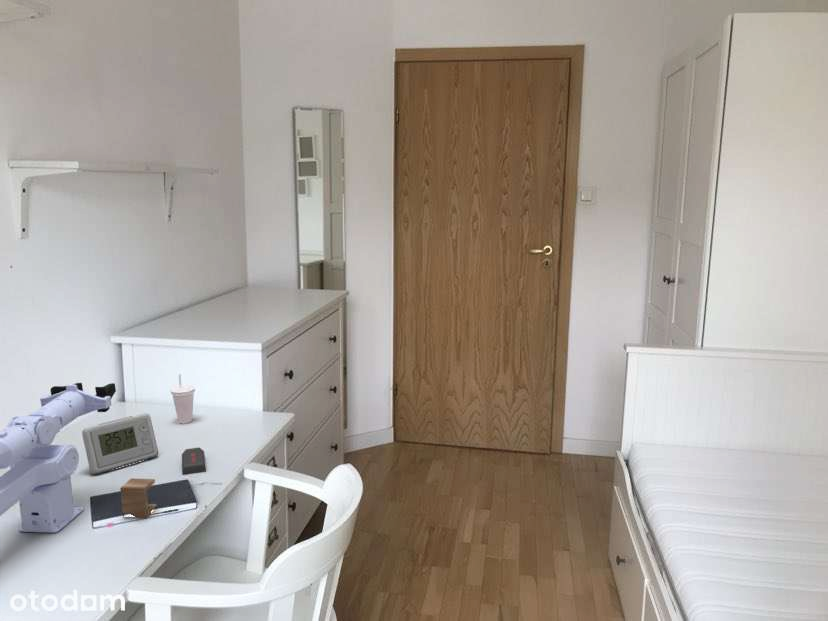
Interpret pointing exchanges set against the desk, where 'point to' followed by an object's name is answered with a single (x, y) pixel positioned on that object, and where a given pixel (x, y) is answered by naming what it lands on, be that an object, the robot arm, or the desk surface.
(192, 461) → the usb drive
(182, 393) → the smoothie
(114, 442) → the digital clock
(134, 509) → the open wooden box
